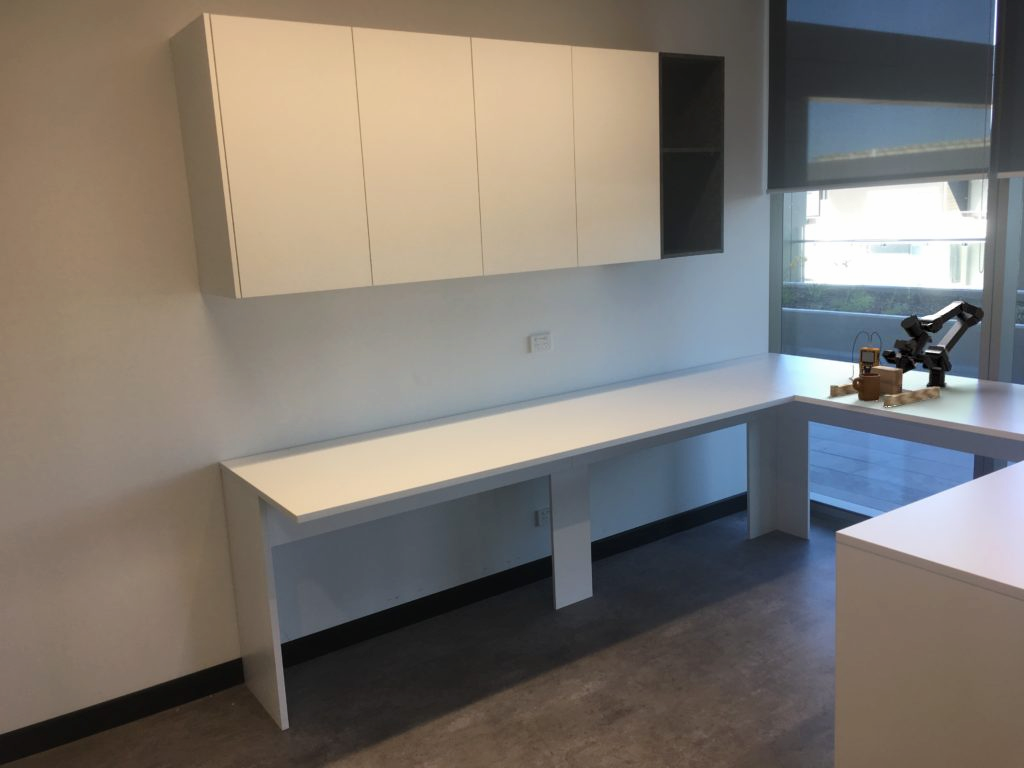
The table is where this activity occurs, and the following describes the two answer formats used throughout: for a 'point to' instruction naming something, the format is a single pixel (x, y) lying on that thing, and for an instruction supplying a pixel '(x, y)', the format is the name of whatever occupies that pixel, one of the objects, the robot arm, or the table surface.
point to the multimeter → (868, 357)
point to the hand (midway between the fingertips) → (895, 376)
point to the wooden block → (889, 379)
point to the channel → (890, 399)
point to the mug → (868, 386)
